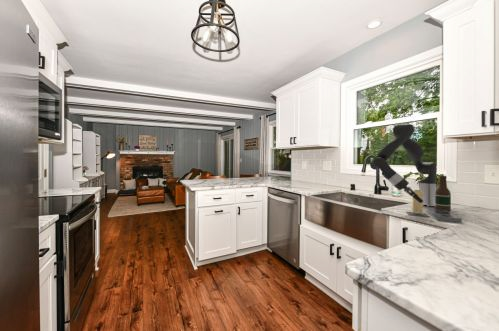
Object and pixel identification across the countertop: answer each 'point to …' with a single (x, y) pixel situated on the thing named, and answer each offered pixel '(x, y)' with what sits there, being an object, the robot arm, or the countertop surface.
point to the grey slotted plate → (443, 215)
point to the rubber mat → (417, 214)
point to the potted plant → (443, 195)
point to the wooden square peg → (415, 204)
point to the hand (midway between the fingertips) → (420, 201)
